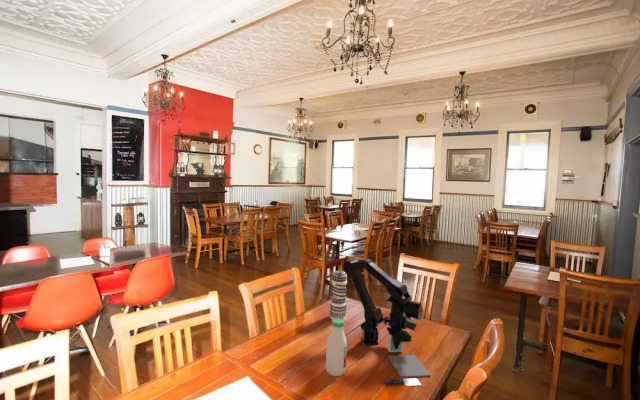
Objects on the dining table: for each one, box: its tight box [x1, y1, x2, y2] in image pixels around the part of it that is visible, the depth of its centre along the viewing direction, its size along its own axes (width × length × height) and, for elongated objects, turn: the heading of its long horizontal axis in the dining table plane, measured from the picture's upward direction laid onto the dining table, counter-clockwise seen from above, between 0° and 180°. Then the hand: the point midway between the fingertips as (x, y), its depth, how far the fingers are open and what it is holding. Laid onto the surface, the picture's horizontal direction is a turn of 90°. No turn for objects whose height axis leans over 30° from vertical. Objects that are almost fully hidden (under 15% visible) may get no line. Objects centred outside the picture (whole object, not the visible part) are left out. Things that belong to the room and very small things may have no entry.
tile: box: [387, 333, 404, 353], centre depth 143 cm, size 6×2×7 cm, turn 98°
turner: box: [384, 377, 422, 387], centre depth 120 cm, size 13×4×1 cm, turn 98°
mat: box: [387, 354, 431, 379], centre depth 131 cm, size 12×14×1 cm
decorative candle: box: [329, 270, 349, 321], centre depth 174 cm, size 9×9×25 cm
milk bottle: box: [325, 319, 348, 377], centre depth 126 cm, size 8×8×20 cm
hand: (395, 347), depth 143 cm, fingers closed on tile, 2 cm apart
